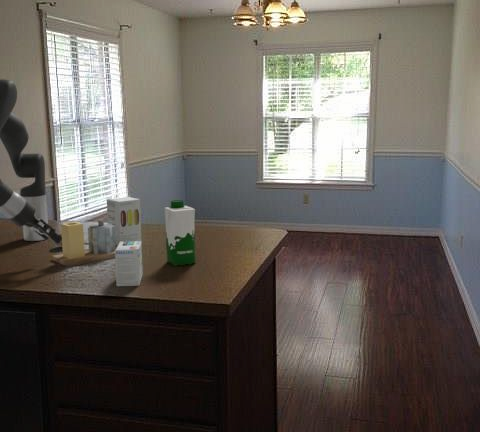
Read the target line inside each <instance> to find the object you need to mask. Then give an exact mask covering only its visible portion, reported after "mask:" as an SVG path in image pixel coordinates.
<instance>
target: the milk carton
mask: <svg viewBox="0 0 480 432" xmlns="http://www.w3.org/2000/svg"><path fill="white" fill-rule="evenodd" d="M195 215H196V209H195V208H193V207H191V206H188V205H184V200H181V199H178V200H177V199H176V200H171V201H170V206H168V207H166V206H165V207H164V217H165V239H166V241H165V242H166V243H165V244H166V258H167V260H166V261H167V262H168V263H169V262H170V263H169V264H171V263H172V264H171V265H173V266H174V265H175V266H174V267H178V266H177V265H181V266H186V265H185V264H188V265H193V264H192V263H195V264H196V242H195V241H196V238H195V237H196V235H195V231H196V230H195V228H196V227H195Z"/></svg>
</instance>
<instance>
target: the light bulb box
mask: <svg viewBox="0 0 480 432" xmlns="http://www.w3.org/2000/svg"><path fill="white" fill-rule="evenodd" d="M115 249H116V250H115V258H114V259H115V260H114V261H115V263H114V264H115V278H116V279H115V280H116V287H135V286H136V287H137V286H138V287H139V286H140V284H141V280H142V278H143V257H142V256H143V252H142V250H143V249H142V240H141V241H128V242H119V244H118V246H117V245H116V247H115Z"/></svg>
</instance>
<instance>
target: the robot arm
mask: <svg viewBox="0 0 480 432" xmlns="http://www.w3.org/2000/svg"><path fill="white" fill-rule="evenodd" d="M17 99H18V89H17V86H16V83H15V82H14V81H12V80H10V79H3V78H0V141H1V143H2V145H3V146H4V148H5V150H6V152H7V154H8V156H9V160H10V162H11V165H12V168H13V170H14V174H15V175H16V176H17V177H18V178H20V179H21V178H22V179H31V178H32V179H34V181H33V183H31V184H29V185H27V186H24V187H22V188H20V189H19V191H20V193H18V192H16V191H14V190H13V188H11V187H9V185H7V184H6V183H5V182H3V180H2V179H1V178H0V213H1V214H2V215H3V216H5V218H7V220H9V221H11V222H12V223H13V224H15V225H16V226H17V227H22V233H23V240H24V241H27V242H36V241H44V240H46V241H47V240H48V239H49V238H50V239H51V240H52V241H53V242H54V243H55V242H56V243H57V244H59V243H60V241H61V240H62V238H61V237H60V236H59V235H58V234H59V233H57V232H56V229H55V228H53V227H52V226H51V225H49V220H48V218H49V217H48V207H47V205H48V204H47V191H46V165H45V164H46V162H45V158H44V155H42V153H22V152H23V150H24V149H25V148H26V147H27V144H28V142H29V139H30V137H29V133H28V130H27V127H26V125H25V123H24V122H23V120H22V119H20V118H19V117H18V116H17V115H16V114H15V113H13V110H14V108H15V106H16V104H17Z"/></svg>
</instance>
